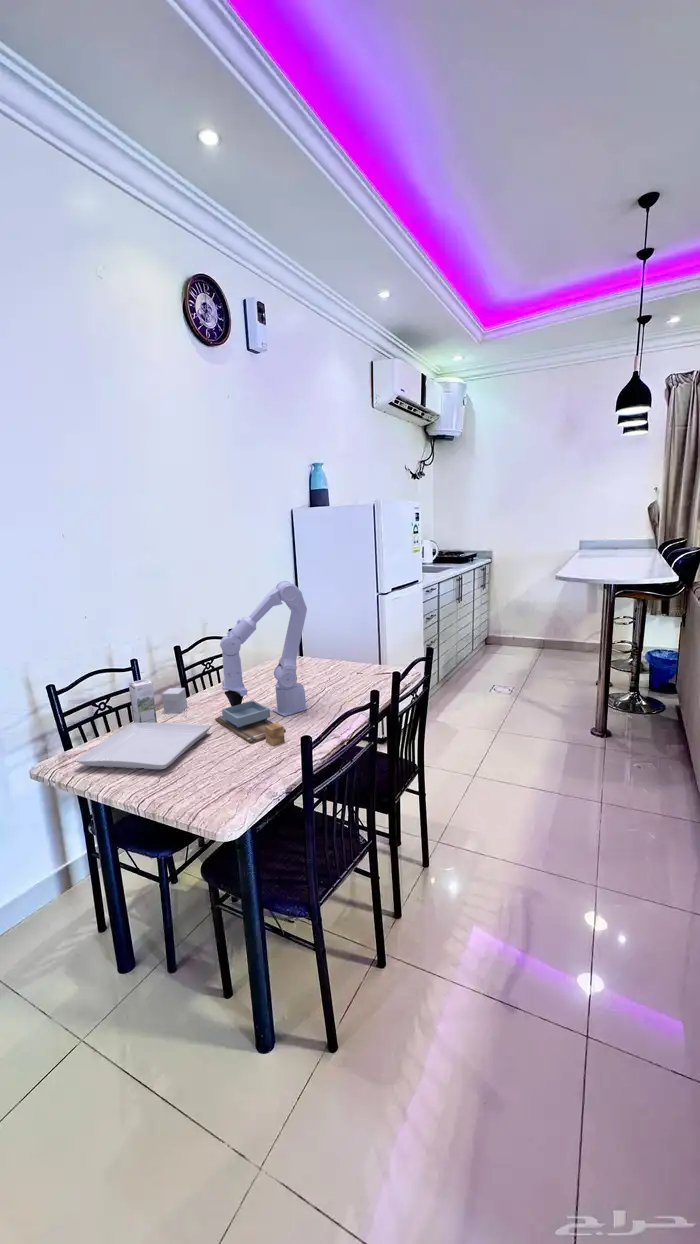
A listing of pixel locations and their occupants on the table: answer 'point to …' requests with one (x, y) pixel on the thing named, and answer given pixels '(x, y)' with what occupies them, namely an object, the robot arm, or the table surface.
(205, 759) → the table surface
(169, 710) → the product box
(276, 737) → the part block
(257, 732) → the rail board
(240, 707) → the blue storage tray
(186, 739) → the square plate
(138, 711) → the syrup box
